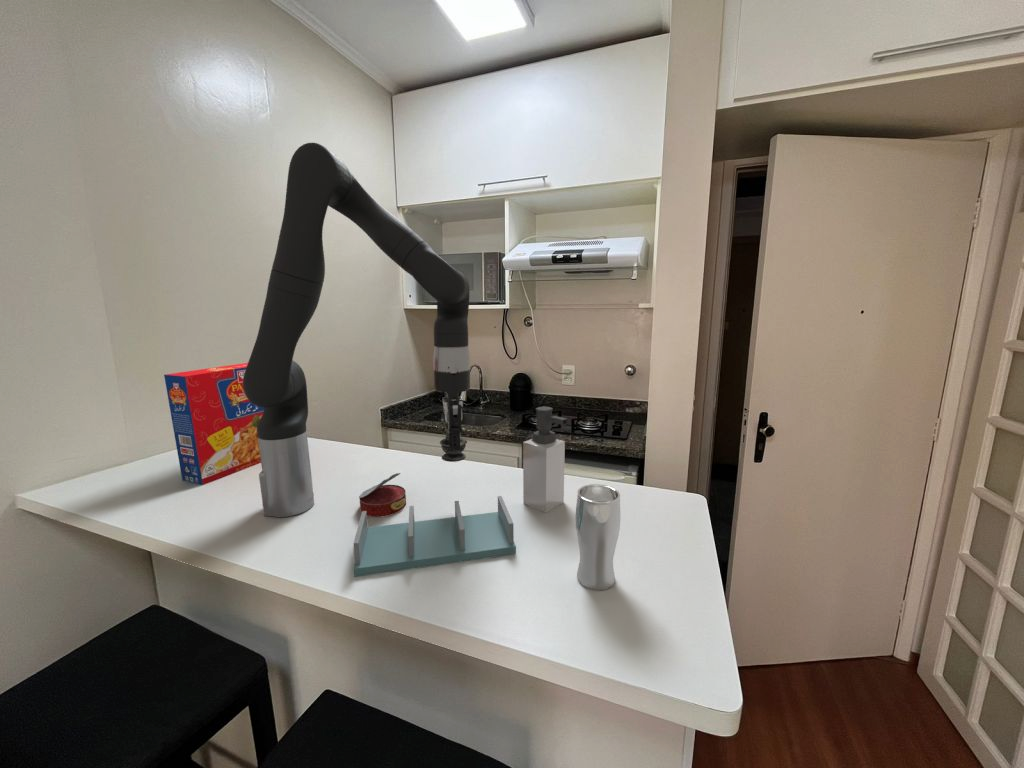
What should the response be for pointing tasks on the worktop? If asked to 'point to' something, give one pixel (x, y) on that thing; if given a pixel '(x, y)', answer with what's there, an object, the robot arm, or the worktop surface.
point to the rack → (432, 541)
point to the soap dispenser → (544, 464)
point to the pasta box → (213, 422)
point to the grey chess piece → (452, 454)
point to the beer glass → (597, 534)
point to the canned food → (383, 499)
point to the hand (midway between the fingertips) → (453, 444)
